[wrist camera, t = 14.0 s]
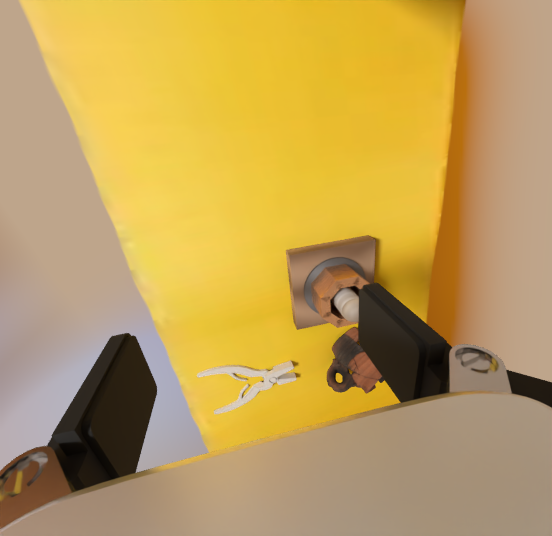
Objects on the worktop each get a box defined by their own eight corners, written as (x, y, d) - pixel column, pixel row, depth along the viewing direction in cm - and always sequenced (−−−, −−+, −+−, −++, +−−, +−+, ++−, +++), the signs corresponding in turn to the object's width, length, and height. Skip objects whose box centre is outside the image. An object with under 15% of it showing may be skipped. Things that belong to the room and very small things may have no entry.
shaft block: (285, 250, 36) (305, 280, 28) (368, 235, 38) (411, 259, 29) (293, 321, 41) (312, 366, 33) (366, 306, 43) (402, 345, 34)
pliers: (196, 378, 41) (290, 350, 42) (196, 370, 42) (287, 344, 43) (215, 419, 45) (300, 393, 46) (215, 411, 46) (297, 386, 47)
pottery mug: (366, 312, 44) (409, 351, 39) (363, 334, 51) (398, 369, 47) (310, 357, 41) (347, 405, 37) (315, 374, 49) (347, 415, 44)
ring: (309, 270, 35) (320, 283, 32) (359, 260, 36) (374, 272, 32) (313, 313, 38) (322, 330, 35) (358, 304, 39) (372, 319, 35)
